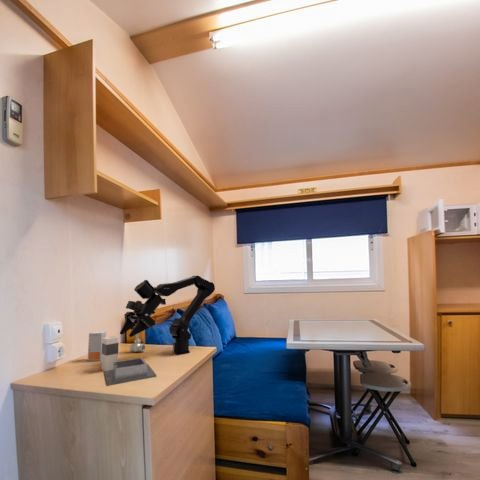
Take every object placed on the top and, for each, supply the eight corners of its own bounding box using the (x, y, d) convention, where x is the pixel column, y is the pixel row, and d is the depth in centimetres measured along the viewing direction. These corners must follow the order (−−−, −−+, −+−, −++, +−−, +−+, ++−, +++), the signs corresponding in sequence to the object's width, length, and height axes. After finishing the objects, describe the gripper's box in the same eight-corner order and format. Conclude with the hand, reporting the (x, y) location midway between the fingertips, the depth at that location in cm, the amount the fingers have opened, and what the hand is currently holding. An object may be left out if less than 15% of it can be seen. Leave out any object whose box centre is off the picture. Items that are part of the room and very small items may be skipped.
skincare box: (87, 361, 125) (88, 333, 127) (92, 358, 130) (93, 331, 131) (100, 361, 125) (101, 332, 127) (105, 358, 129) (106, 331, 131)
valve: (139, 353, 135) (140, 328, 137) (127, 353, 137) (127, 328, 138) (146, 350, 142) (147, 325, 144) (134, 350, 143) (135, 325, 145)
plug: (113, 366, 116) (114, 336, 118) (117, 368, 113) (118, 337, 114) (101, 369, 113) (102, 338, 114) (105, 371, 109) (106, 339, 111)
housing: (147, 365, 116) (147, 355, 116) (156, 376, 102) (156, 364, 102) (104, 372, 108) (104, 361, 109) (107, 385, 94) (107, 372, 95)
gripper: (129, 293, 131) (103, 321, 122) (148, 294, 118) (120, 324, 109) (145, 309, 135) (121, 337, 126) (165, 311, 122) (139, 342, 113)
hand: (124, 335), depth 118 cm, fingers open, 9 cm apart
